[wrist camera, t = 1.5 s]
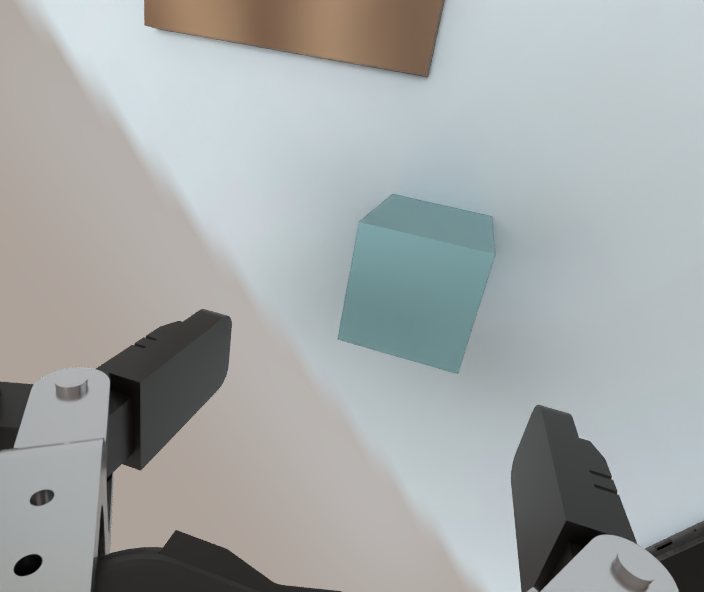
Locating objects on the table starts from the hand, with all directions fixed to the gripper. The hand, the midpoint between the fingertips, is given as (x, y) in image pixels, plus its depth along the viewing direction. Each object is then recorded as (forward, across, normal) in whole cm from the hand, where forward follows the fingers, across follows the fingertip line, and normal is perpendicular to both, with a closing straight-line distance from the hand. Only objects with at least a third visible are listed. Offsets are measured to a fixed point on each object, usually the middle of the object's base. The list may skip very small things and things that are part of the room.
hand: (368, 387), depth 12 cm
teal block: (+13, 0, 0) cm, 13 cm away
